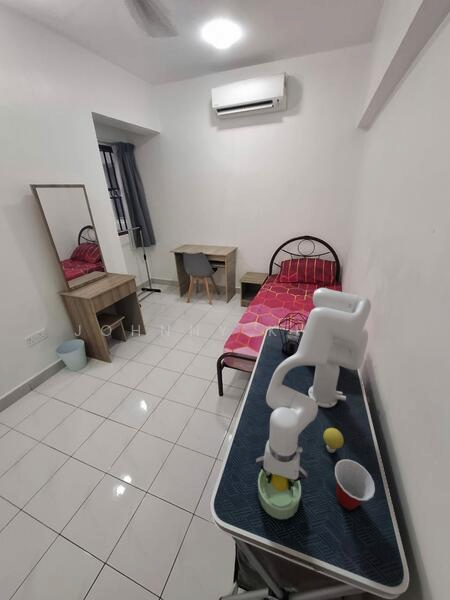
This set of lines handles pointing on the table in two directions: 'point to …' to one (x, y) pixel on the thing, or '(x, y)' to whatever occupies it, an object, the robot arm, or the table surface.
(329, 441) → the light bulb
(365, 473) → the plastic cup
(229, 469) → the table surface
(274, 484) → the lemon
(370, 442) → the table surface
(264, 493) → the pale green bowl
